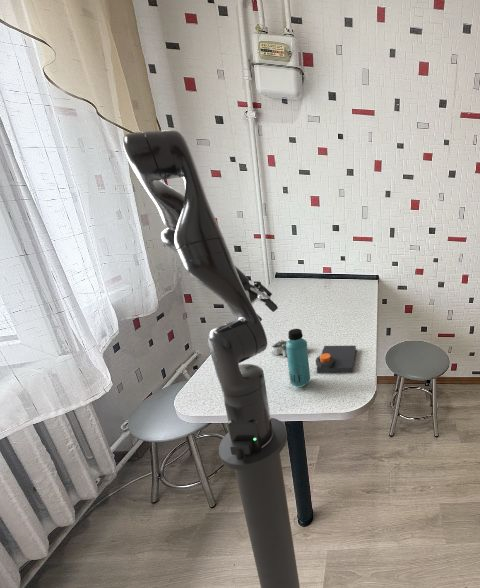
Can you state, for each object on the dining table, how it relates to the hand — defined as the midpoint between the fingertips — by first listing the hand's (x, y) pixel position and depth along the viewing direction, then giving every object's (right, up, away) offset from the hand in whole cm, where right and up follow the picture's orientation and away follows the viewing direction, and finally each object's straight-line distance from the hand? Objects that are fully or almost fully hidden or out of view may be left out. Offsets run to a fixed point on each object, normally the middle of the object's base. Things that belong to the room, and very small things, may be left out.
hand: (268, 315), depth 100 cm
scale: (+16, -18, +22) cm, 32 cm away
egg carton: (-3, -16, +26) cm, 30 cm away
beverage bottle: (+7, -23, +8) cm, 26 cm away
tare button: (+13, -17, +16) cm, 27 cm away
